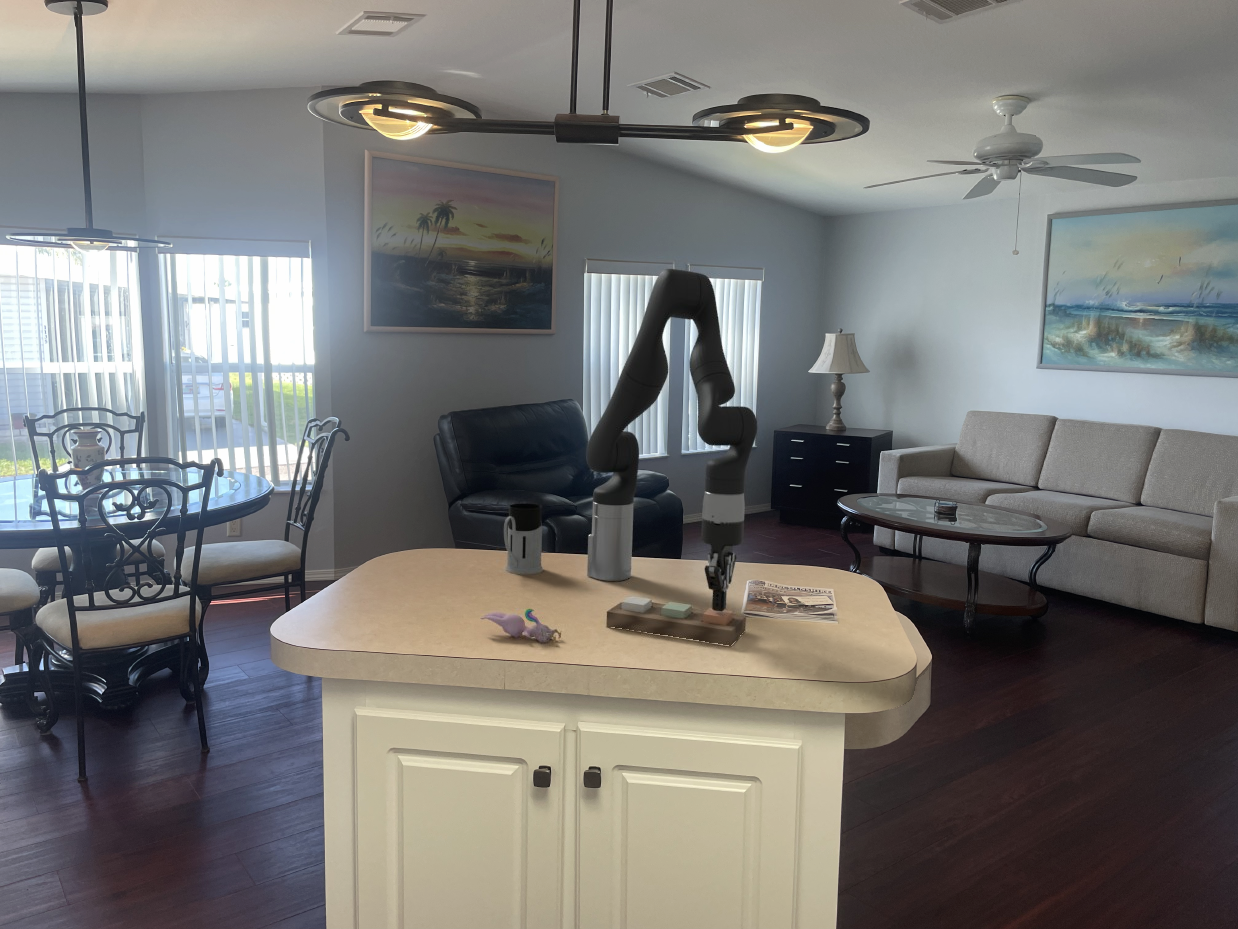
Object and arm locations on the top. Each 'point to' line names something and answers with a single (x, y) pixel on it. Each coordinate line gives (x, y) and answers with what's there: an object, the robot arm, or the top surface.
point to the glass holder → (524, 538)
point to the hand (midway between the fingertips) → (718, 609)
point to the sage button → (676, 610)
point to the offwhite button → (636, 604)
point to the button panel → (676, 624)
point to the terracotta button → (718, 617)
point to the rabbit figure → (523, 626)
